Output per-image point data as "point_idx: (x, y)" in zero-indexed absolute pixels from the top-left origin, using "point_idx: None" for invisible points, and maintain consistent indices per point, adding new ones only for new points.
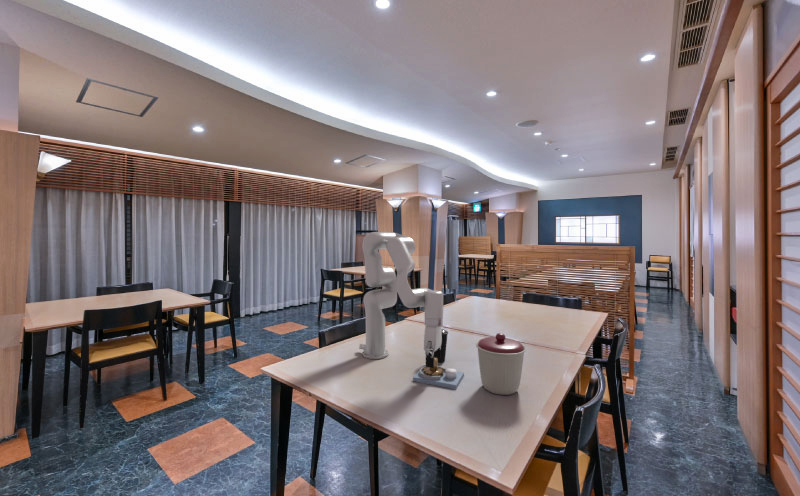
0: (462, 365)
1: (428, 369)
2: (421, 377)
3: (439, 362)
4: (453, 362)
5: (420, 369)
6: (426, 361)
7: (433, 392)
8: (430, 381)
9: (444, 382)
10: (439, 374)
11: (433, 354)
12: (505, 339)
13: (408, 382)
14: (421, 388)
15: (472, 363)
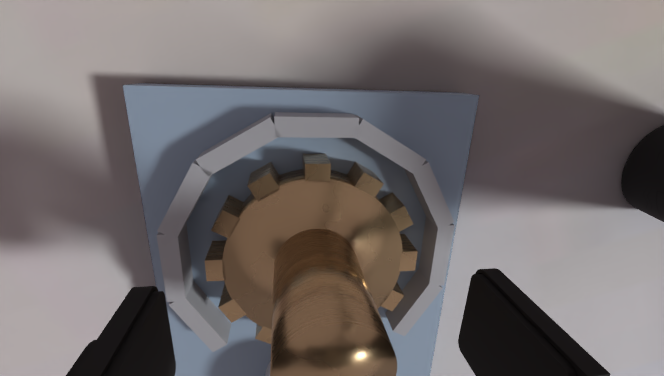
0: (585, 334)
1: (311, 215)
2: (171, 173)
3: (623, 181)
4: (635, 270)
5: (292, 125)
6: (99, 356)
7: (37, 316)
8: (157, 264)
9: (181, 370)
10: (257, 329)
11: (506, 309)
12: None
13: (79, 47)
14: (38, 213)
15: (623, 372)
